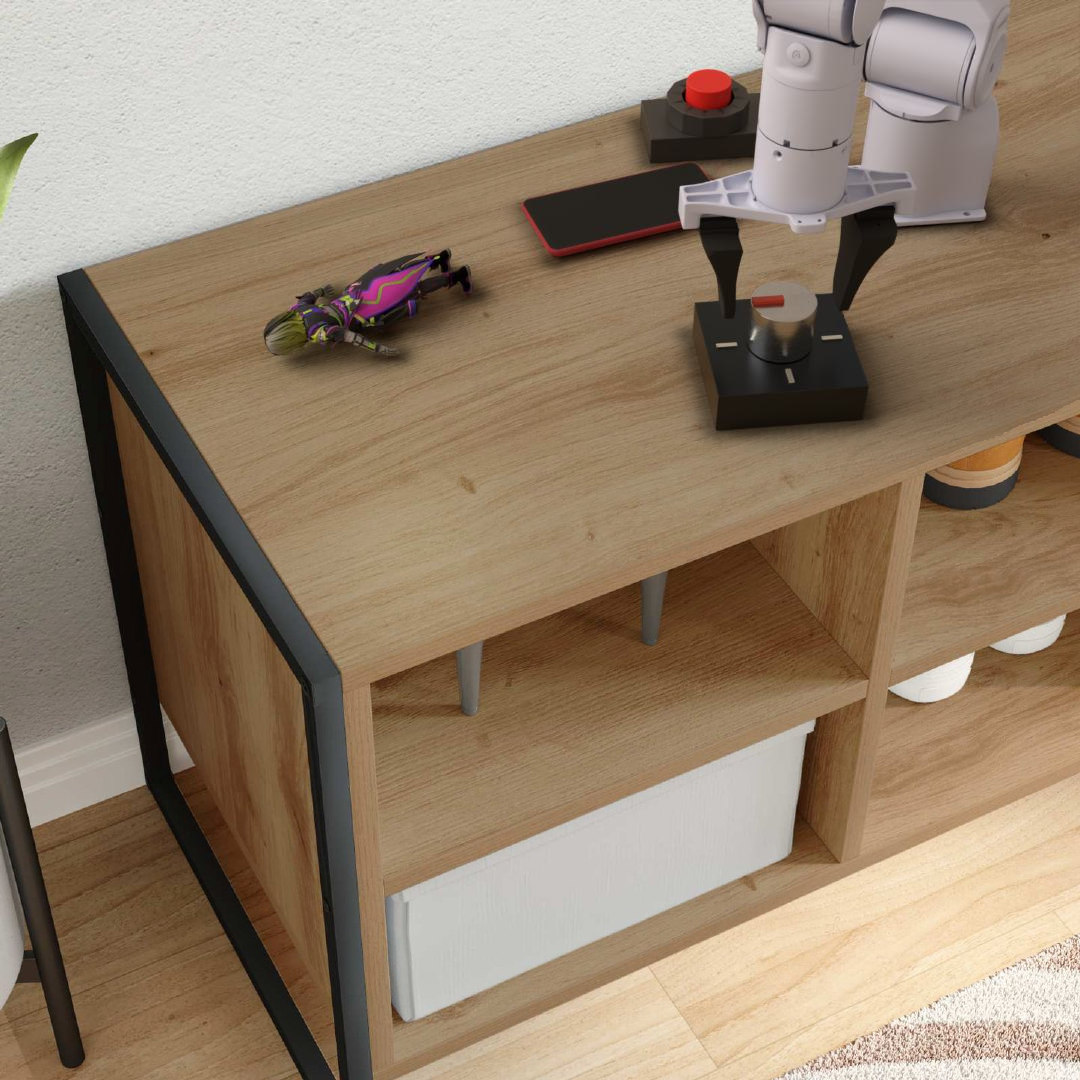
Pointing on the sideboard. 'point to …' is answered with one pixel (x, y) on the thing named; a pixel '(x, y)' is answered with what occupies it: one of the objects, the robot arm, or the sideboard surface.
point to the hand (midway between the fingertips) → (783, 305)
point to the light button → (708, 89)
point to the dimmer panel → (778, 372)
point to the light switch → (699, 126)
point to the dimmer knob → (781, 321)
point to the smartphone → (611, 209)
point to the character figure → (363, 305)
